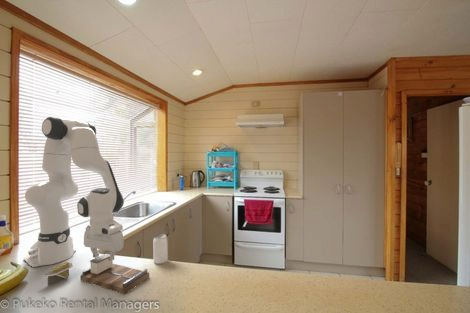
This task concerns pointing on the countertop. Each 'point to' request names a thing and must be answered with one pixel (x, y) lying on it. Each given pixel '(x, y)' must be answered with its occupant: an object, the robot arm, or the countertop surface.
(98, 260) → the white lidded box
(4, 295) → the countertop surface
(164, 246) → the can
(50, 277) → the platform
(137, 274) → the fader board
